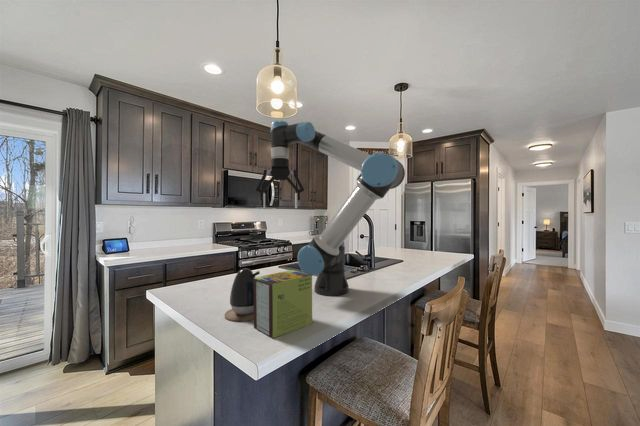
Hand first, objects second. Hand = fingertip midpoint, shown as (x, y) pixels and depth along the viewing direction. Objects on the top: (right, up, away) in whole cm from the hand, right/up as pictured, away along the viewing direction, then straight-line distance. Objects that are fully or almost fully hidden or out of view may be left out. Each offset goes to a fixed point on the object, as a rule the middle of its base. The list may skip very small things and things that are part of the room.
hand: (280, 208), depth 119 cm
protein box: (+6, -37, -33) cm, 50 cm away
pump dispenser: (-9, -36, -23) cm, 44 cm away
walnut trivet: (-9, -37, -23) cm, 45 cm away
